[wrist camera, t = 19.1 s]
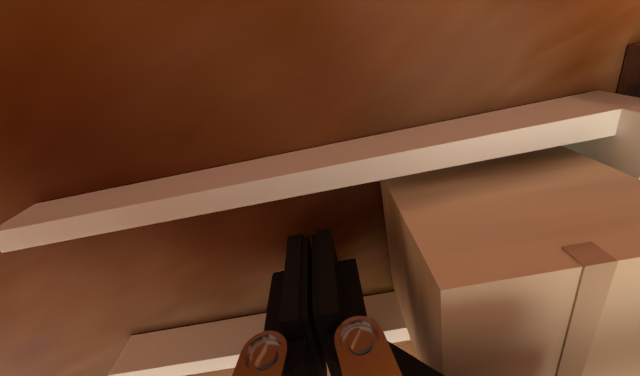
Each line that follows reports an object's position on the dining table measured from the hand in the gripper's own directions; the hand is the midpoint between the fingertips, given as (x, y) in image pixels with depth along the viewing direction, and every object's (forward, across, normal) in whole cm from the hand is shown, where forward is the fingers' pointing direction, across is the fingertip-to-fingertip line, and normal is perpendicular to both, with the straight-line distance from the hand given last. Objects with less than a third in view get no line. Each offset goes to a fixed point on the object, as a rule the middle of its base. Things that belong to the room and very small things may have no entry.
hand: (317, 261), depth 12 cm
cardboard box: (+1, -6, 0) cm, 6 cm away
